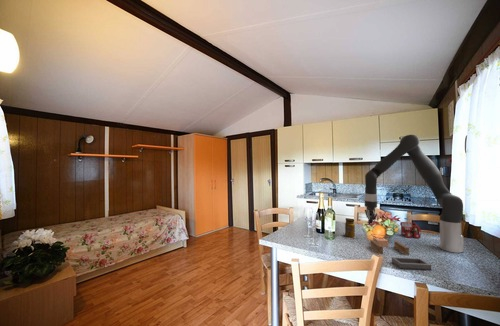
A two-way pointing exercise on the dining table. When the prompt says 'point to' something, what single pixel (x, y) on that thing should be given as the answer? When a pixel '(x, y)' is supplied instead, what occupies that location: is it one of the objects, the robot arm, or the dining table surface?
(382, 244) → the block
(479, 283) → the dining table surface
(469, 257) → the dining table surface
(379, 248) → the channel
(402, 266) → the tray
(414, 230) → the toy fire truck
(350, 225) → the condiment
